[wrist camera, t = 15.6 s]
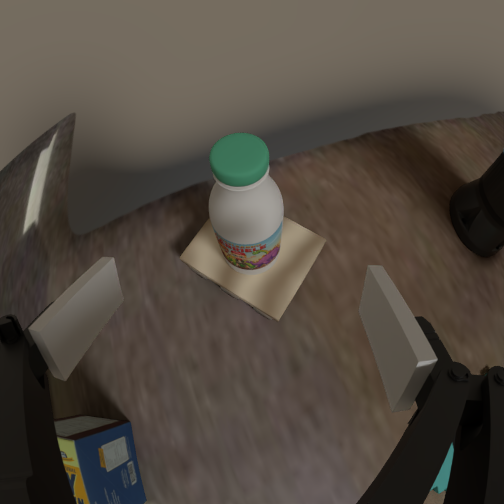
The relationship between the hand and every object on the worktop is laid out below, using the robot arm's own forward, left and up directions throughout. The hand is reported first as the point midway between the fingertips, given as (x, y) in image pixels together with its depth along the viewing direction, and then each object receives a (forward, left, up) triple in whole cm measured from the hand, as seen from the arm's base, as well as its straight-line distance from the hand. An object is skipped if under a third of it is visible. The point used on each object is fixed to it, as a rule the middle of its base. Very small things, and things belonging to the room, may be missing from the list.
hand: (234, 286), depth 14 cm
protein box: (+7, +32, -28) cm, 43 cm away
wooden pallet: (+6, -9, -27) cm, 30 cm away
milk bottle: (+6, -9, -23) cm, 26 cm away
